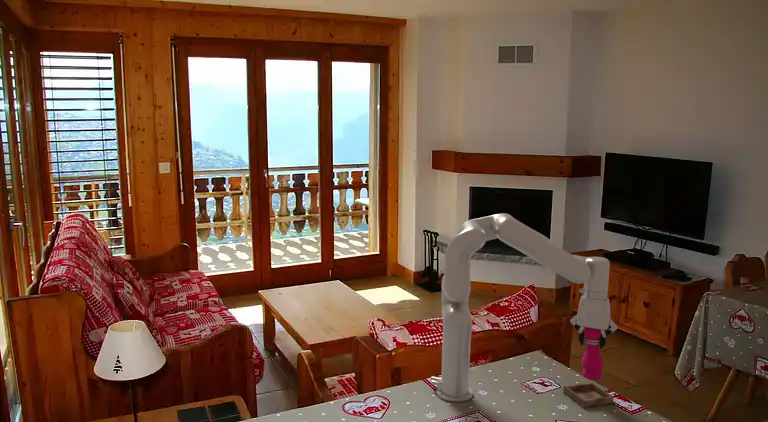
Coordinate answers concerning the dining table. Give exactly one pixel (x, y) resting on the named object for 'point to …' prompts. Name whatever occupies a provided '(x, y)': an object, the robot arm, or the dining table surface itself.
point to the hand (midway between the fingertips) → (591, 345)
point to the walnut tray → (588, 395)
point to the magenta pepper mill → (592, 355)
